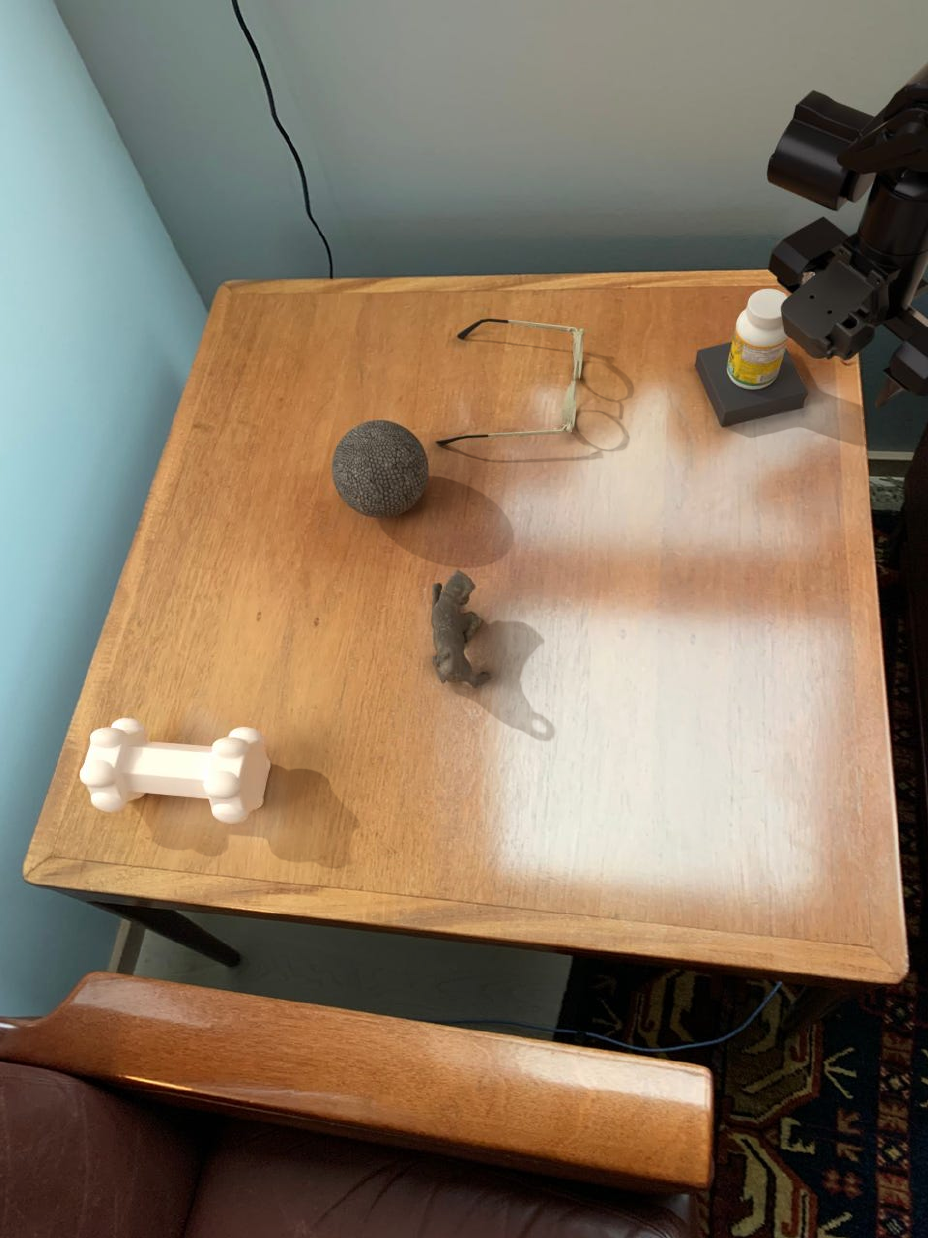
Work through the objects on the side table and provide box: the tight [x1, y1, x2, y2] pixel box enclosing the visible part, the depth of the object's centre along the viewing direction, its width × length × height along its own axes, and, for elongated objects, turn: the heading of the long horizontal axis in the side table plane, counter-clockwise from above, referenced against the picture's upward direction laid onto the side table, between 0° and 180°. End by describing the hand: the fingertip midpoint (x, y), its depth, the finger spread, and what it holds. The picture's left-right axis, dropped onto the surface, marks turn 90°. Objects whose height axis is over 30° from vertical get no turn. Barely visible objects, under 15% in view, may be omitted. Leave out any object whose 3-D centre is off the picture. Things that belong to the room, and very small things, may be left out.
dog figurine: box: [430, 569, 492, 689], centre depth 82 cm, size 12×6×7 cm, turn 1°
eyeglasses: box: [435, 318, 586, 446], centre depth 96 cm, size 17×15×5 cm
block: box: [694, 341, 809, 428], centre depth 94 cm, size 9×9×2 cm
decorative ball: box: [331, 419, 430, 519], centre depth 90 cm, size 10×10×10 cm
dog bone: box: [79, 717, 271, 825], centre depth 79 cm, size 15×9×8 cm, turn 83°
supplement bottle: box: [727, 288, 790, 390], centre depth 89 cm, size 5×5×10 cm
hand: (844, 372), depth 79 cm, fingers open, 9 cm apart
